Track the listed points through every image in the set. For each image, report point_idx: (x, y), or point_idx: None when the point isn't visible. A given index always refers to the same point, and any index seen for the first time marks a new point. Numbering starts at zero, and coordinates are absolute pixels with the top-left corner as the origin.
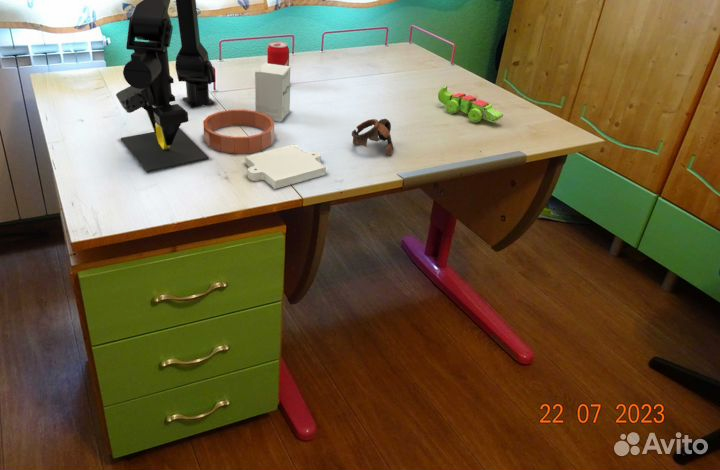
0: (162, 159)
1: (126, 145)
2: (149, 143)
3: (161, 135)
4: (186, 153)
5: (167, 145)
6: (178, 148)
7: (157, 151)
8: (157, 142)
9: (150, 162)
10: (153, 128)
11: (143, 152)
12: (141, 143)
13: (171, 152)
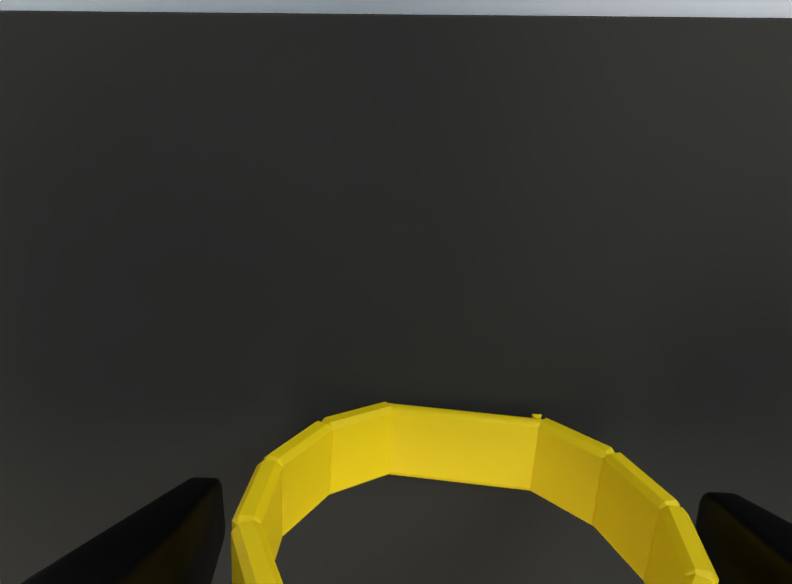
0: (129, 301)
1: (789, 18)
2: (647, 324)
3: (614, 529)
4: None
5: (196, 481)
6: (342, 552)
7: (373, 328)
8: (617, 417)
9: (92, 134)
10: (777, 526)
11: (428, 158)
12: (709, 233)
13: None
